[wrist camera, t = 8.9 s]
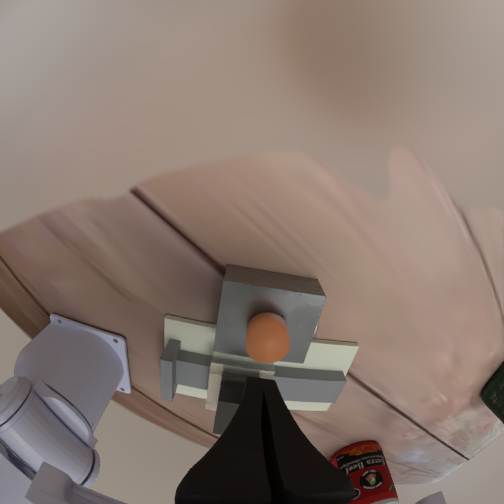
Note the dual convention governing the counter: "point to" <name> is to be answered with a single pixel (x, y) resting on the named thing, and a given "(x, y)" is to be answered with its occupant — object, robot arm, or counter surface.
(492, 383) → the coffee jar
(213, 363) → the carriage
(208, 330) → the track board
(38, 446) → the robot arm
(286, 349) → the plunger
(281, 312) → the gauge box
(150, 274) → the counter surface
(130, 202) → the counter surface
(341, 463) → the canned food
